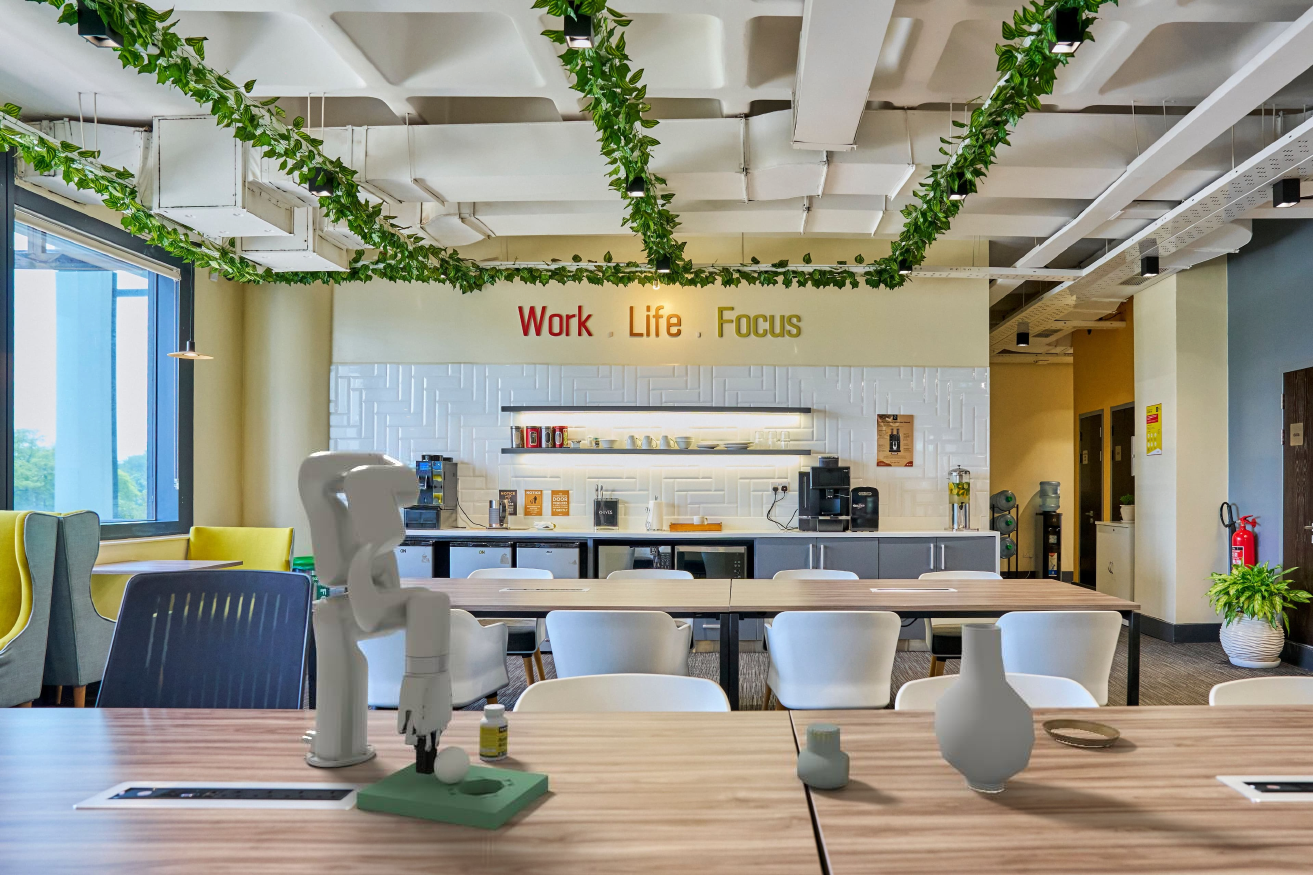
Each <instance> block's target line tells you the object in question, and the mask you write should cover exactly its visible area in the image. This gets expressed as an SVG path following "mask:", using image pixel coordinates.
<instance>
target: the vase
mask: <svg viewBox="0 0 1313 875" xmlns="http://www.w3.org/2000/svg"><path fill="white" fill-rule="evenodd" d="M1002 644H1003V643H1002V627H1001V626H999V625H995V624H990V623H979V622H978V623H975V622H973V623H964V624H961V656H960V657H961V659H960V666H959V677H958V678H957V679H955V681H953V683H952V684H950V686H949V687H948V688H947V689H946V690H945V691H944V692H943V693H942V694H940V695H939V697H938V698H937V699H936V700H935V711H934V712H935V715H934V733H935V735H936V736H935V737H936V740H937V743H938V746H939V751H940V752H941V753H940V754H941V755H942V756H941V757H942V759H944V760H945V761H946V762H947V763H948V764H949V765H950V766H952V767H953V768H954V769H956V771H958V772H959V773H960V774H961V775H963V776H964V777H965V785H966V784H967V785H968V786H970V787H972V788H975V789H979V790H985V791H999V790H1002V789H1004V790H1005V782H1006V781H1008V780H1009V779H1011V778H1012V777H1014V776H1016V775H1018V774H1020V773H1021V772H1022V771H1024V770H1025V769H1026V768H1027V767H1028V765H1029V762H1030V759H1031V755H1032V752H1033V748H1034V745H1035V741H1036V734H1035V727H1034V726H1035V725H1034V723H1035V722H1034V716H1033V715H1034V714H1033V710H1032V707H1031V706H1029V704H1028V703H1027V702H1026V701H1025V700H1024V699H1023V698H1022V696H1020V694H1019V693H1018V692H1017V691H1016V690H1015V689H1014V688H1013V687H1012V686H1011V685H1010V683H1009V682H1008V681H1007V677H1006V672H1005V666H1004V665H1005V664H1004V659H1003V651H1002V650H1003V649H1002V646H1003V645H1002Z"/></svg>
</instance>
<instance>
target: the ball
mask: <svg viewBox="0 0 1313 875" xmlns="http://www.w3.org/2000/svg"><path fill="white" fill-rule="evenodd" d="M470 765H471V760H470V757H469V754H468V752H467V751H466V750H465V749H463V748H462V747H460V746H457V745H451V746H447V747H445V748H443V749H442V750H440V751H439V752H438V753H437V757H436V759H435V762H434V772H435V774H436V776H437V778H438V779H439V780H440V781H442V782H444V783H447V784H454V783H457V782H459V781H461V780H462V779H463V778H464V777H465V776H466V775H467V773H468V771H469V768H470Z"/></svg>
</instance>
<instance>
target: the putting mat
mask: <svg viewBox="0 0 1313 875" xmlns="http://www.w3.org/2000/svg"><path fill="white" fill-rule="evenodd" d="M548 790H549V775H548V774H543V773H542V774H541V773H535V772H528V771H520V770H514V769H513V770H512V769H505V768H504V769H503V768H497V767H489V766H481V765H474V764H470V768H469V771H468V773H467V775H466V776H465V777H464V778H463V779H462V780H461V781H459V782H457V783H454V784H447V783H444V782H442V781H440V780H439V779H438V778H437V776H436V774H435V772H434V773H432V774H430V775H429V774H421V773H417V772H416V761H415V762H412V764H410V765H407V766H405V767H403V768H402V769H400V770H398V771H396V772H394V773H392V774H390V775H387V776H386V777H384V778H382V779H380V780H378V781H377V782H374V783H372V784H370V785H368V786H367V787H364V788H363V789H361V790H358V791H356V809H360V810H367V811H374V812H379V813H386V814H393V815H400V816H405V817H412V818H418V819H424V820H430V821H431V820H432V821H437V822H445V823H449V824H456V825H463V826H468V827H476V828H483V829H486V830H487V829H489V830H494V831H495V830H497V829H498V828H500V827H501V826H502V825H503V824H504V823H506V822H507V821H509V820H510V819H511V818H513V817H514V816H515V815H516V814H518V813H519V812H521V811H522V810H523V809H525V808H526V807H528V806H529V805H530V804H532V803H533V802H534V801H535V800H537V799H538V798H539V797H541V796H542V795H544V793H546V792H547V791H548Z"/></svg>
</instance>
